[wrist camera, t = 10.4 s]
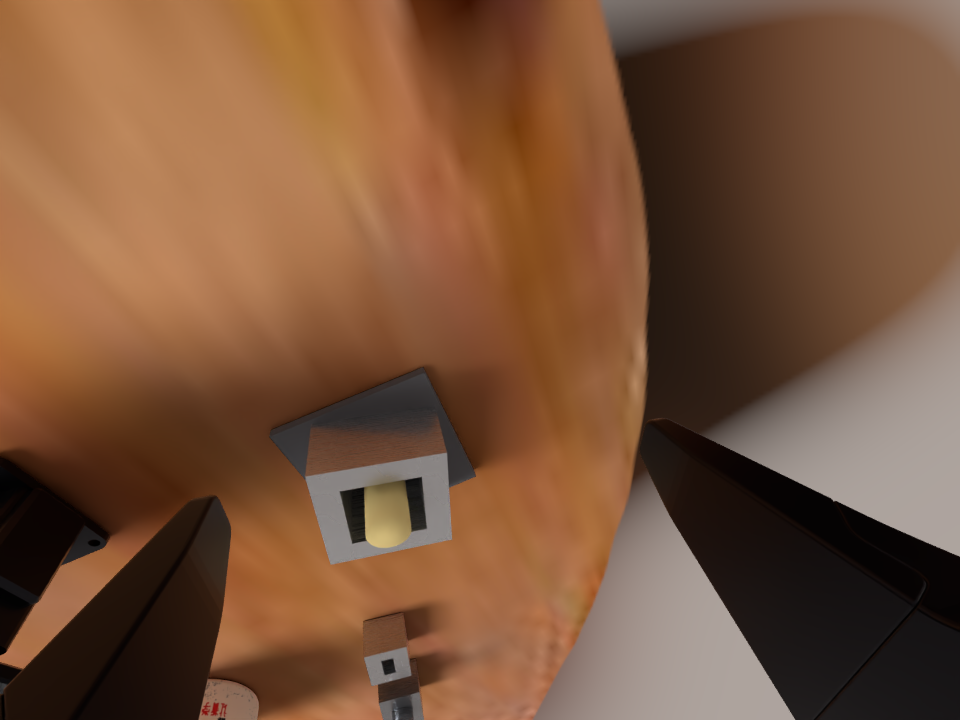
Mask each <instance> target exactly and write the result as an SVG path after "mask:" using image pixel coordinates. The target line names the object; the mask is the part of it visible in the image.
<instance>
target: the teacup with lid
mask: <svg viewBox="0 0 960 720" xmlns="http://www.w3.org/2000/svg"><path fill="white" fill-rule="evenodd" d="M258 710H259V702H258V699H257V697H256V695H255V694H254V692H253V691H252V690H250V689H249V688H247V687H246V686H244V685H241V684H239V683H236V682H232V681H227V680H220V679H208V681H207V685H206V690H205V694H204V698H203V703H202V707H201V712H200V716H199V720H257V717H258Z"/></svg>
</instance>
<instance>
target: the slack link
mask: <svg viewBox="0 0 960 720" xmlns="http://www.w3.org/2000/svg"><path fill="white" fill-rule="evenodd" d="M363 638H364V660H365V663H366V667H367V671H368V674H369V678H370V681H371V685H372V686H374V685H378V684H382V683H385V682H389V681H393V680H397V679H401V678H404V677H408V676H411V666H410V656H409V646H408V638H407V632H406V626H405V620H404V614H403V612H402V613H398V614H393V615H389V616H385V617H381V618H376V619H372V620H368V621H364V622H363Z"/></svg>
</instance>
